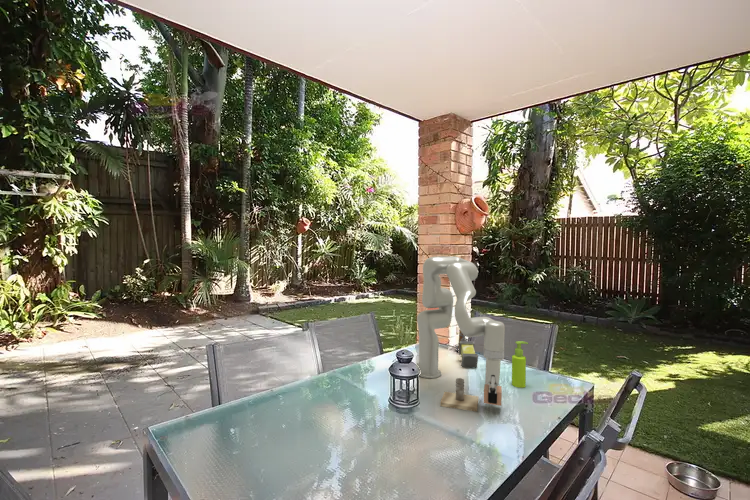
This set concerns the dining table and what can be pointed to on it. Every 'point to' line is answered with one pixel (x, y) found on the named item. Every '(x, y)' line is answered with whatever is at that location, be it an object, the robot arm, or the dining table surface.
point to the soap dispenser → (519, 366)
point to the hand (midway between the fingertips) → (492, 398)
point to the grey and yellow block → (467, 351)
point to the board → (461, 404)
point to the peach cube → (499, 394)
